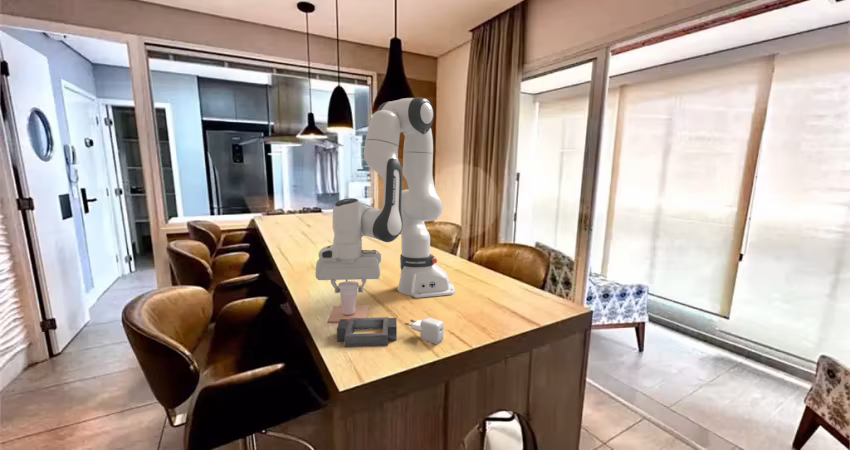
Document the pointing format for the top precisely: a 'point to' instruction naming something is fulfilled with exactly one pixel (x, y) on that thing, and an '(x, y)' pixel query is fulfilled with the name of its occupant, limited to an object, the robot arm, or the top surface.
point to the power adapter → (428, 329)
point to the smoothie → (348, 296)
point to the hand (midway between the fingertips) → (349, 292)
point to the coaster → (337, 314)
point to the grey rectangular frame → (366, 339)
